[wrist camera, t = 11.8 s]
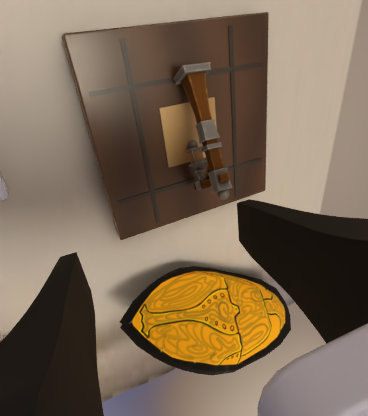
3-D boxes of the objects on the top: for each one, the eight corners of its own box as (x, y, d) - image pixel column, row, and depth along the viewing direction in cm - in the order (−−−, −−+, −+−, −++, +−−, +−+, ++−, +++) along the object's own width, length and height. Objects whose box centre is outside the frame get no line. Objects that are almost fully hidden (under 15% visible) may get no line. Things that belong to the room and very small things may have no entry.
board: (117, 232, 22) (121, 241, 21) (61, 36, 16) (62, 33, 14) (257, 186, 26) (266, 191, 25) (257, 14, 20) (270, 11, 18)
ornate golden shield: (126, 394, 18) (112, 397, 22) (323, 353, 24) (282, 361, 29) (118, 264, 22) (107, 288, 27) (286, 258, 29) (255, 279, 33)
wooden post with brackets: (190, 204, 21) (218, 203, 17) (161, 93, 20) (183, 63, 16) (211, 197, 21) (244, 195, 17) (185, 90, 21) (212, 60, 16)
